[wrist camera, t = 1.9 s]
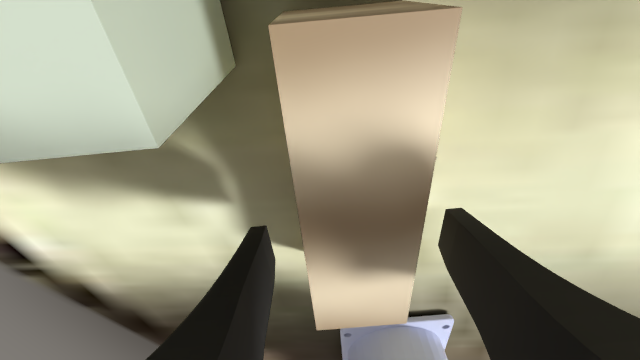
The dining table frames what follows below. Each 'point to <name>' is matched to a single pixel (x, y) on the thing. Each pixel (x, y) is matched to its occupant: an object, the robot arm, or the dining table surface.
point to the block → (104, 73)
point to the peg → (363, 146)
